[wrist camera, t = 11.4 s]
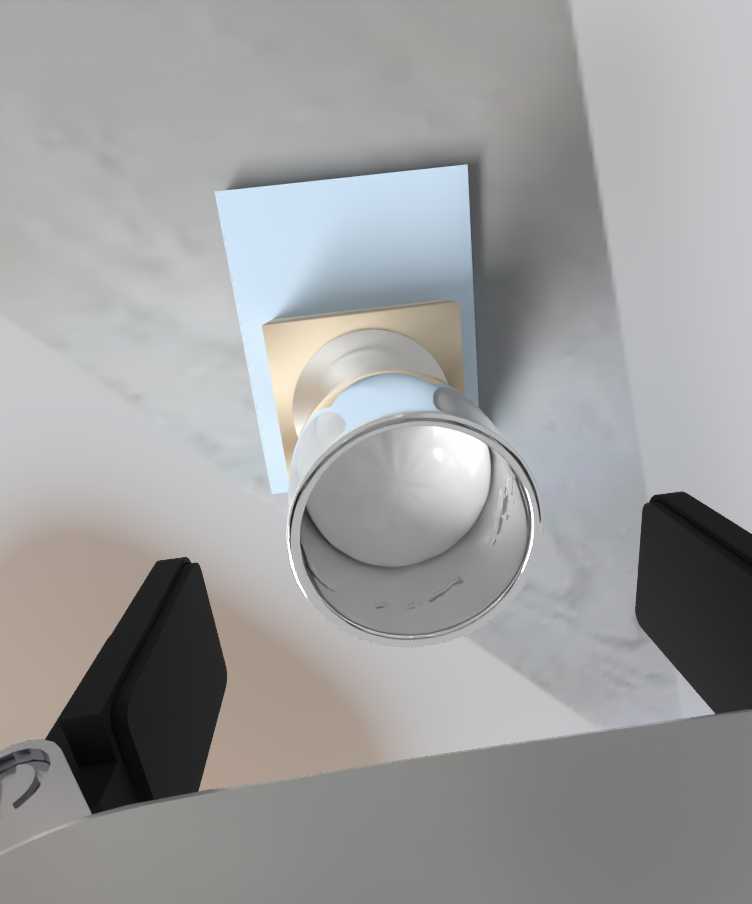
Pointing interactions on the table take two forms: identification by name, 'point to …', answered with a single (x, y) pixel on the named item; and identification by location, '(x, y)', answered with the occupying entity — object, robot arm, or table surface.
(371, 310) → the plinth
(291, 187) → the blueprint board
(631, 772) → the robot arm
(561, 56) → the table surface
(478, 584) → the beer glass
